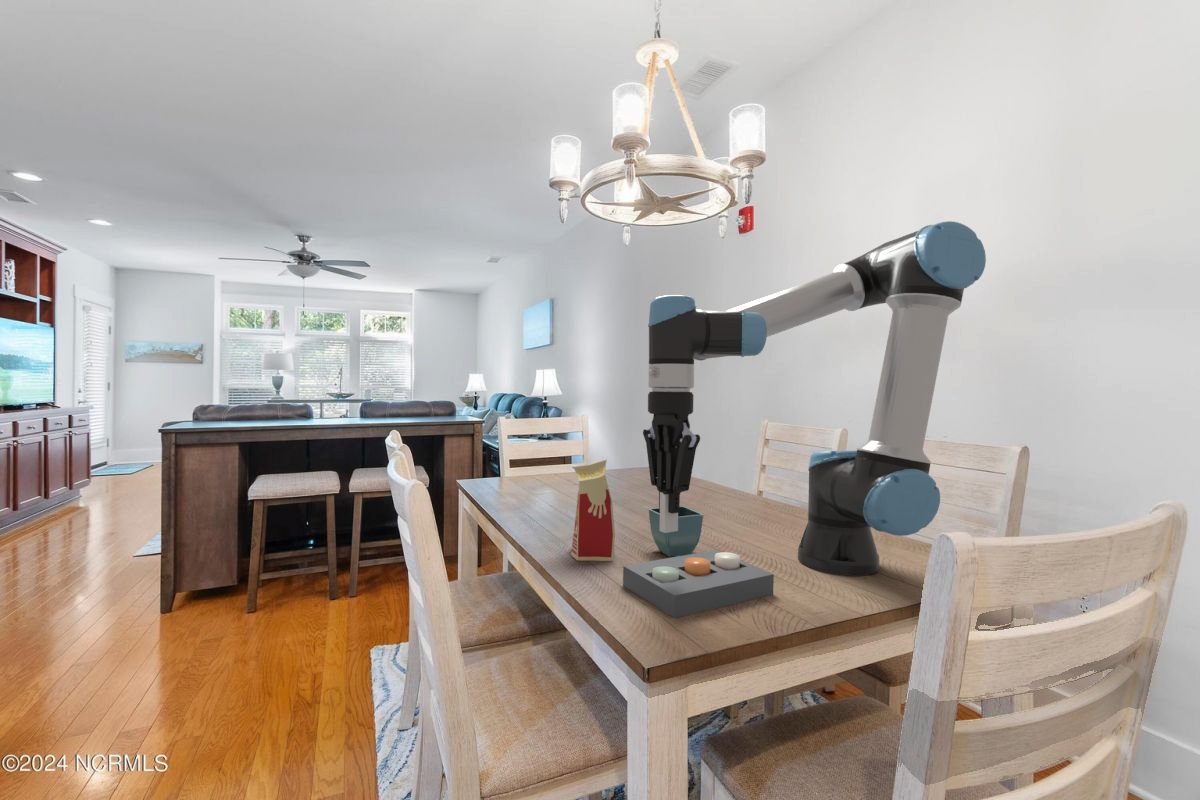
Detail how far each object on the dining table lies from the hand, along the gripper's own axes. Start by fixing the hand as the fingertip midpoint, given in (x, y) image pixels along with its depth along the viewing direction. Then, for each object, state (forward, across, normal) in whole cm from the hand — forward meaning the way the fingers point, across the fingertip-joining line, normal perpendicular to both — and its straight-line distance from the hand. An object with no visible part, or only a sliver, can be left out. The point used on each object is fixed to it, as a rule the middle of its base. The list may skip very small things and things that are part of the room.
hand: (668, 530), depth 91 cm
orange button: (+9, 0, +6) cm, 11 cm away
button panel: (+11, 0, +6) cm, 13 cm away
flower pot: (+11, -19, +15) cm, 27 cm away
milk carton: (+11, -26, -1) cm, 28 cm away
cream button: (+9, 0, +13) cm, 16 cm away
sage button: (+9, 0, 0) cm, 9 cm away
